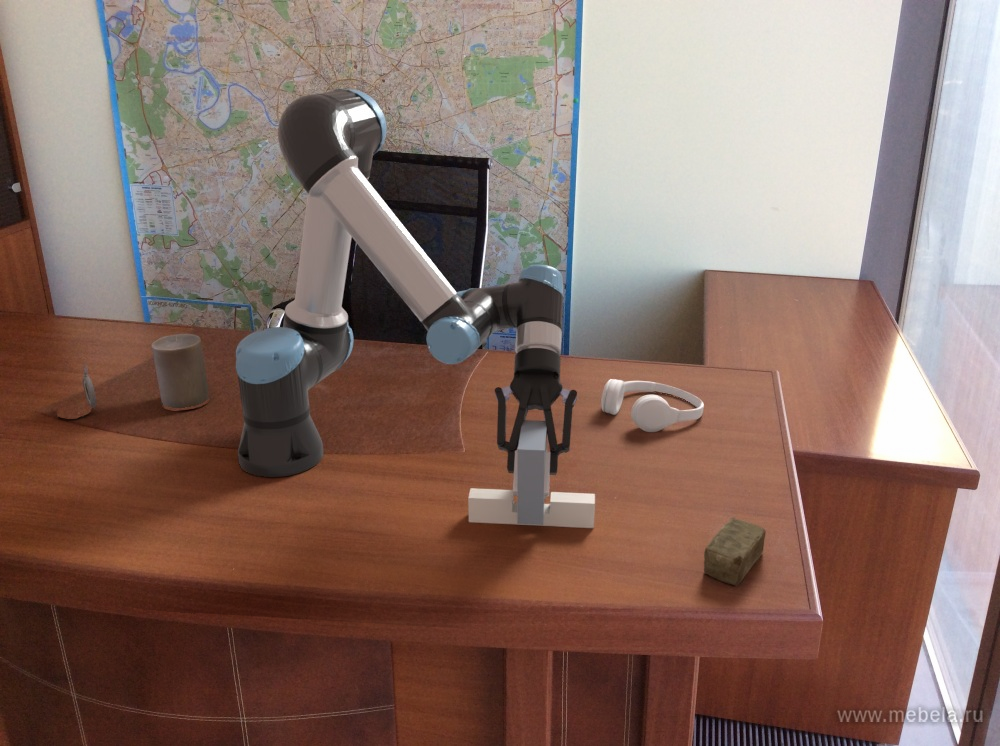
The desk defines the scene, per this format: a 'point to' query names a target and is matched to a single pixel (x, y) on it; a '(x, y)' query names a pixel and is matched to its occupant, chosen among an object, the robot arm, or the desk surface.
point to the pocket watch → (89, 389)
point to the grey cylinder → (180, 370)
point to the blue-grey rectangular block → (531, 472)
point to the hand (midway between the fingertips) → (531, 493)
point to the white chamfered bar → (557, 513)
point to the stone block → (734, 551)
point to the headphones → (649, 404)
